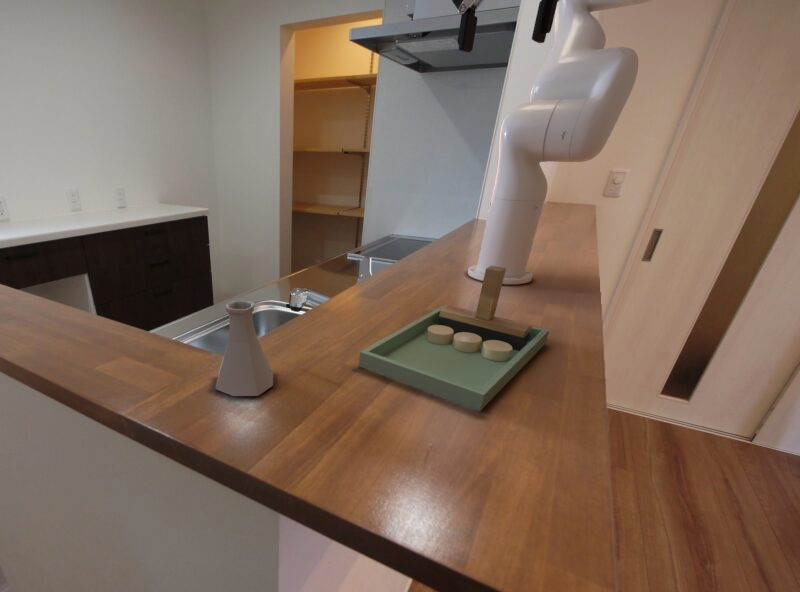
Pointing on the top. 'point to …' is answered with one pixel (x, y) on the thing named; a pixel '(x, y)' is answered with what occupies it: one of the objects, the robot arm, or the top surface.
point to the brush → (487, 315)
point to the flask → (243, 355)
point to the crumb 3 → (496, 350)
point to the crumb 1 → (439, 334)
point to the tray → (446, 363)
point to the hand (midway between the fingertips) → (499, 46)
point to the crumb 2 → (467, 342)
